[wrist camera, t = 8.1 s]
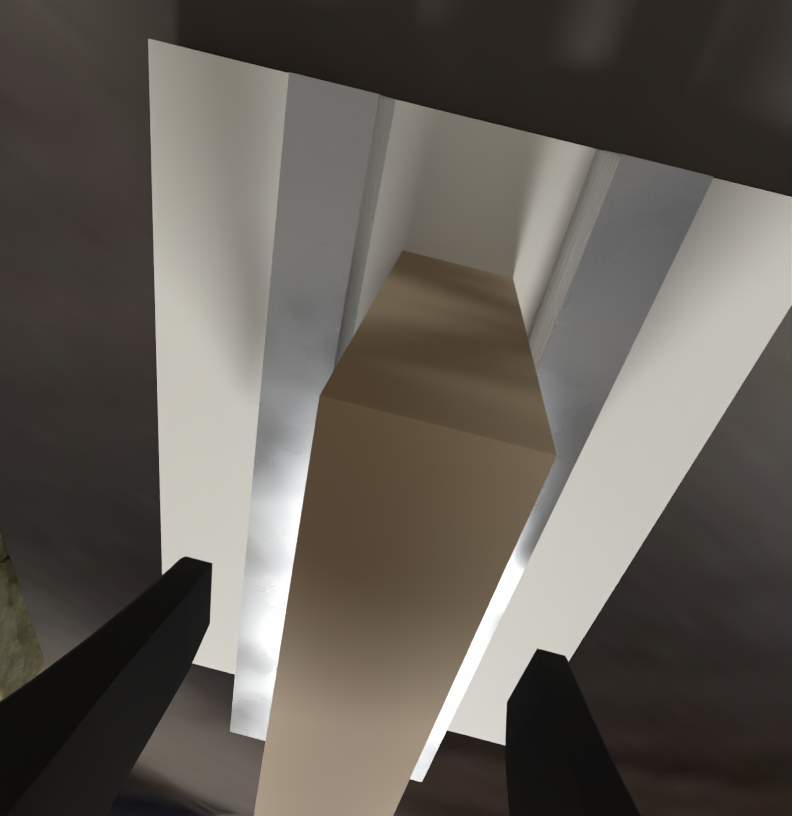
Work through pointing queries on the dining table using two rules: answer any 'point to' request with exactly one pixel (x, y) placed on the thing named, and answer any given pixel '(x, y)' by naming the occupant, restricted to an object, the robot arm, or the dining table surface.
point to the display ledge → (353, 296)
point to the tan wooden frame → (401, 533)
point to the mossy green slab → (15, 633)
